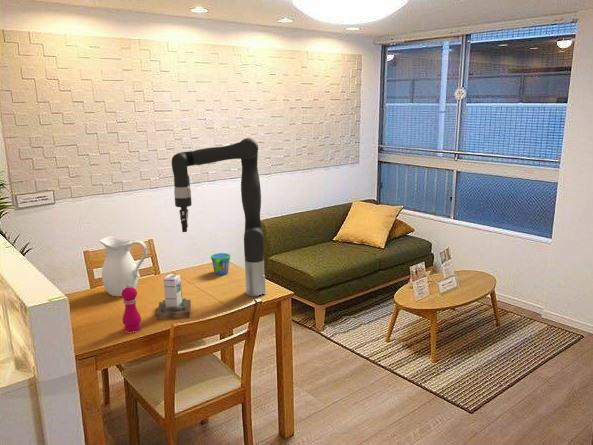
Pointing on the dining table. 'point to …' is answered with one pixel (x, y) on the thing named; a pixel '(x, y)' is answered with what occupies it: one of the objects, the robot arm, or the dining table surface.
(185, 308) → the plinth
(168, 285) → the syrup box
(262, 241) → the robot arm
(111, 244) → the pitcher
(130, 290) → the pepper mill
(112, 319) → the dining table surface
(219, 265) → the snack cup
